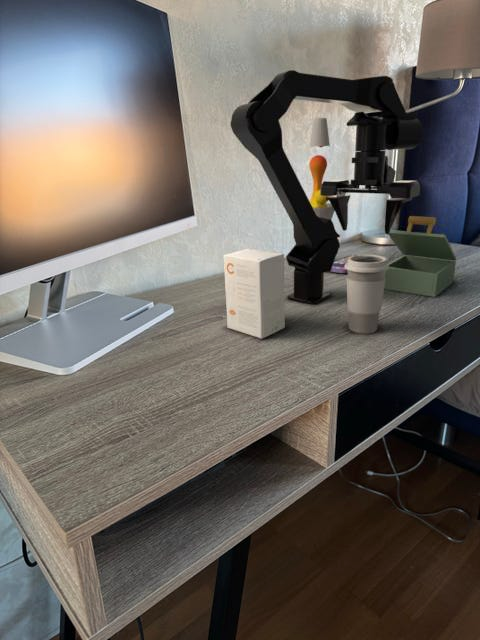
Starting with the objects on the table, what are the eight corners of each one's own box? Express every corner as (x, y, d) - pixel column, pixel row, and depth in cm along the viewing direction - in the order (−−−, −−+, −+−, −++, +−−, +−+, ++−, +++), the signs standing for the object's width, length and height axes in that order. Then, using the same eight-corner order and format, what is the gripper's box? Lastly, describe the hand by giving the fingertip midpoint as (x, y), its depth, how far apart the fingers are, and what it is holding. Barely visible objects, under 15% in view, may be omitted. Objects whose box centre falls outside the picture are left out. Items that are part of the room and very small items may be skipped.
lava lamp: (292, 262, 119) (293, 119, 106) (318, 257, 123) (321, 119, 110) (315, 269, 111) (318, 116, 99) (341, 263, 116) (348, 116, 103)
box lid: (444, 237, 85) (450, 214, 85) (386, 232, 92) (392, 211, 92) (455, 260, 95) (461, 240, 96) (403, 254, 102) (408, 235, 102)
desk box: (434, 297, 88) (437, 274, 87) (379, 288, 95) (381, 266, 93) (453, 282, 97) (456, 261, 95) (401, 274, 104) (403, 255, 102)
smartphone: (318, 270, 110) (348, 258, 121) (345, 274, 106) (374, 261, 116) (318, 266, 110) (348, 255, 120) (345, 270, 105) (374, 258, 115)
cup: (364, 318, 79) (369, 251, 75) (393, 330, 74) (399, 259, 69) (333, 326, 76) (335, 257, 72) (360, 339, 71) (364, 266, 66)
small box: (285, 328, 76) (285, 253, 72) (261, 339, 72) (259, 261, 67) (250, 317, 81) (248, 247, 77) (226, 328, 77) (222, 254, 73)
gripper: (433, 148, 86) (424, 229, 92) (345, 151, 97) (342, 223, 103) (413, 150, 78) (404, 238, 84) (319, 153, 89) (317, 230, 95)
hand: (365, 232), depth 91 cm, fingers open, 9 cm apart
